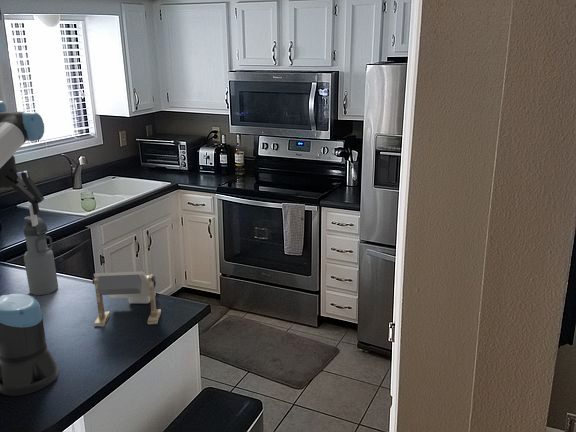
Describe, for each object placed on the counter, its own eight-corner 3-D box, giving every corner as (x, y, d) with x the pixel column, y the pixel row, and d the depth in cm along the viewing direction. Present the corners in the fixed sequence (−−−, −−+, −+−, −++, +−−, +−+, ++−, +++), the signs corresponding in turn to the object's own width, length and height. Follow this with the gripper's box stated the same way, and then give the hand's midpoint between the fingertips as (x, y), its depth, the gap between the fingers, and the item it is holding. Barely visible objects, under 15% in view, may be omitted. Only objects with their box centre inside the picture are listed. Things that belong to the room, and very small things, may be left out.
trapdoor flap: (142, 287, 167) (143, 271, 169) (92, 290, 166) (94, 273, 168) (154, 308, 185) (155, 293, 188) (109, 310, 185) (111, 295, 187)
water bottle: (64, 288, 203) (53, 216, 195) (40, 298, 195) (28, 224, 187) (48, 282, 208) (36, 212, 200) (24, 292, 201) (11, 219, 192)
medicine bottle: (128, 303, 189) (139, 291, 201) (148, 303, 188) (158, 291, 200) (126, 283, 187) (137, 273, 199) (147, 284, 187) (157, 273, 199)
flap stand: (157, 323, 176) (153, 281, 171) (94, 326, 175) (88, 283, 170) (161, 312, 183) (157, 271, 179) (101, 315, 182) (95, 273, 178)
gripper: (48, 151, 161) (58, 220, 167) (-39, 154, 160) (-26, 223, 166) (39, 156, 154) (50, 228, 160) (-53, 159, 153) (-38, 231, 159)
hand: (11, 225), depth 163 cm, fingers open, 13 cm apart
